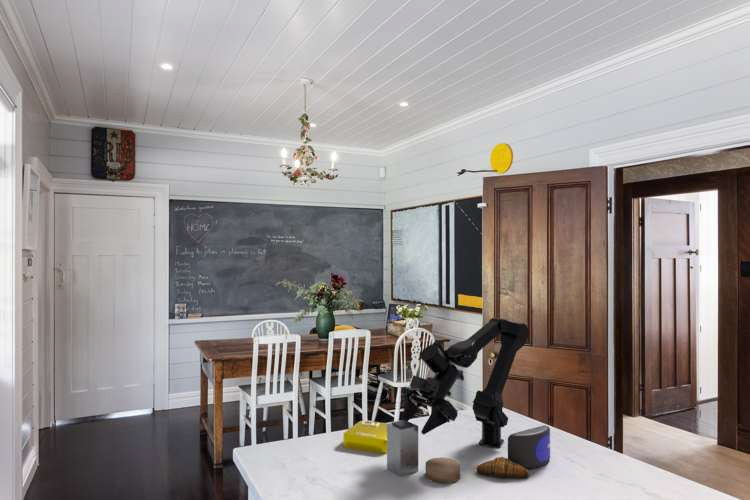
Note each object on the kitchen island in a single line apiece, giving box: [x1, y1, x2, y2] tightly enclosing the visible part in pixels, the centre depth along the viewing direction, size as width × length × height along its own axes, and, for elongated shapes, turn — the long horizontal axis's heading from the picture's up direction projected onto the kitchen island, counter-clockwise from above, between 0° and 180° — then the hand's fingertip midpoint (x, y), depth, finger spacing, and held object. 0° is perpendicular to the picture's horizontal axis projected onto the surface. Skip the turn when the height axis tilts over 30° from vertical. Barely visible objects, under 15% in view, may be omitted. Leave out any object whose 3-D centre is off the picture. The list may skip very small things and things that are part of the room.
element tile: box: [342, 419, 389, 455], centre depth 156 cm, size 15×15×5 cm
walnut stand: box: [425, 457, 462, 485], centre depth 132 cm, size 9×9×3 cm
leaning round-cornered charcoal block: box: [507, 425, 551, 470], centre depth 139 cm, size 16×5×9 cm, turn 123°
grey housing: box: [386, 419, 419, 477], centre depth 136 cm, size 6×6×12 cm
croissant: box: [475, 456, 530, 479], centre depth 133 cm, size 14×7×5 cm, turn 79°
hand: (411, 428), depth 138 cm, fingers open, 9 cm apart
